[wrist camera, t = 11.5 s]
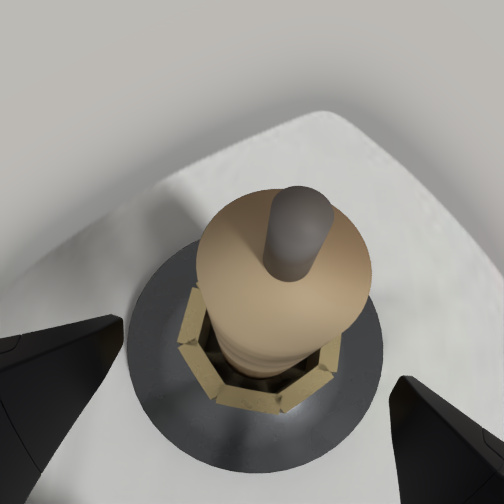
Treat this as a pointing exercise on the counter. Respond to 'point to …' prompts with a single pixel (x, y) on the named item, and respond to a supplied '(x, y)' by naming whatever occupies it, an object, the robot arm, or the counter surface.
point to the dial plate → (243, 382)
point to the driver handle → (280, 278)
